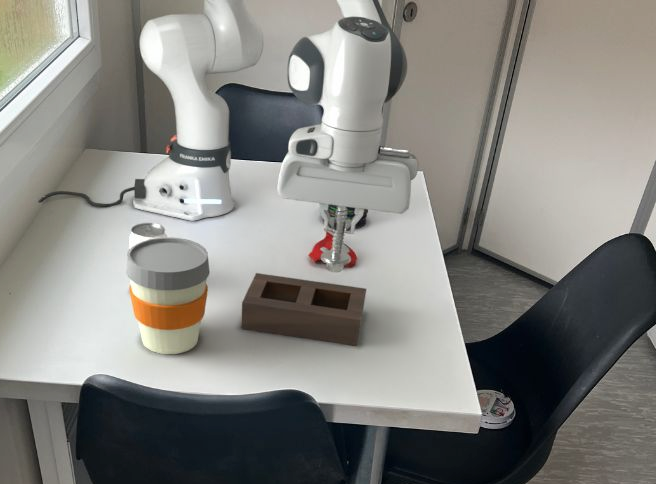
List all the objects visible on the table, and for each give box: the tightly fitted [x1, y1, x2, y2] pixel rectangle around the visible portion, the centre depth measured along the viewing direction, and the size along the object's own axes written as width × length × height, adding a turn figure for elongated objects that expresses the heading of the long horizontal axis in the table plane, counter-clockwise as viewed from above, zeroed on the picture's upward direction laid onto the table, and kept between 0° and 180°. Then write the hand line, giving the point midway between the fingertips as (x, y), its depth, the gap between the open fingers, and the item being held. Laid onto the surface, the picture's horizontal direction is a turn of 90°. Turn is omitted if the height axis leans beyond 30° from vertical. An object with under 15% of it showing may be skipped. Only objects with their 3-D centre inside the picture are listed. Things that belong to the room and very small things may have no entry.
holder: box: [240, 272, 367, 347], centre depth 124 cm, size 11×20×5 cm, turn 79°
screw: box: [320, 206, 351, 273], centre depth 115 cm, size 13×5×5 cm
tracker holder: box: [308, 230, 358, 267], centre depth 145 cm, size 12×4×10 cm
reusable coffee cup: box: [125, 236, 210, 355], centre depth 113 cm, size 13×13×15 cm
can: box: [129, 222, 168, 249], centre depth 127 cm, size 6×6×12 cm
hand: (338, 231), depth 115 cm, fingers closed on screw, 2 cm apart
